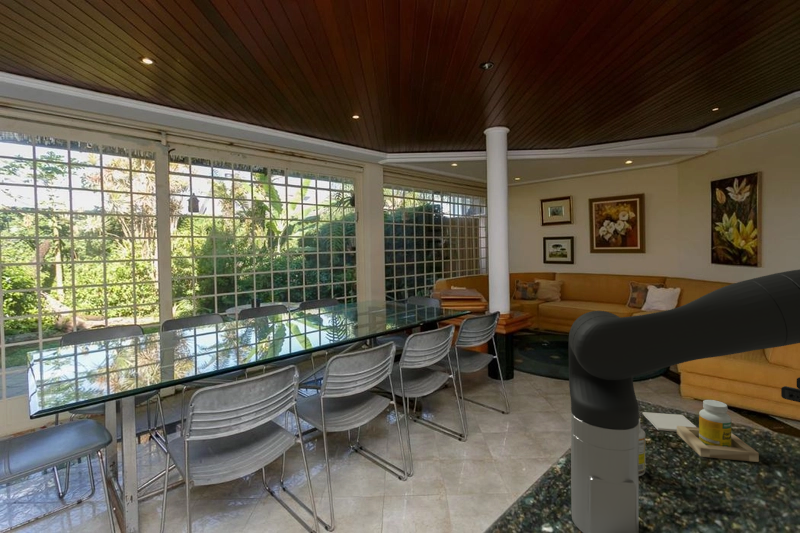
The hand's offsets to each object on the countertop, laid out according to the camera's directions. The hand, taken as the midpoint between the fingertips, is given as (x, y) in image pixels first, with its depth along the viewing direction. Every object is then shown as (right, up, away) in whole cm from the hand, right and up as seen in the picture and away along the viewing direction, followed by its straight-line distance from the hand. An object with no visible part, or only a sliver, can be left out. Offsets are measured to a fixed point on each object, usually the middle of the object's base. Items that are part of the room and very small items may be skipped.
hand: (789, 387), depth 70 cm
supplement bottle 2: (-5, -17, +10) cm, 20 cm away
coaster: (-7, -16, +21) cm, 28 cm away
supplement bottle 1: (-29, -17, +3) cm, 34 cm away
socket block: (-5, -16, +10) cm, 20 cm away
